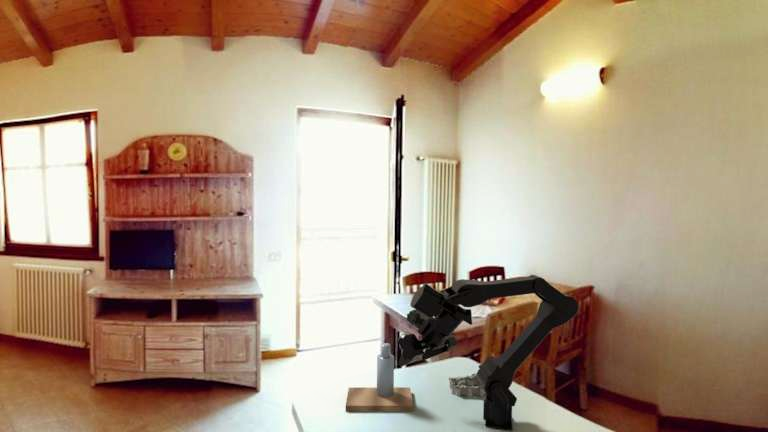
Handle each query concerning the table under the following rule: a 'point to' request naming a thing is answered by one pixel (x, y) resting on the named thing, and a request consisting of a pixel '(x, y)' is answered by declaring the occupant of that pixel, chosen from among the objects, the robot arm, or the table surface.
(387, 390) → the slate-blue bottle
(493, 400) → the robot arm
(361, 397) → the walnut board
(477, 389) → the egg carton
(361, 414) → the table surface
